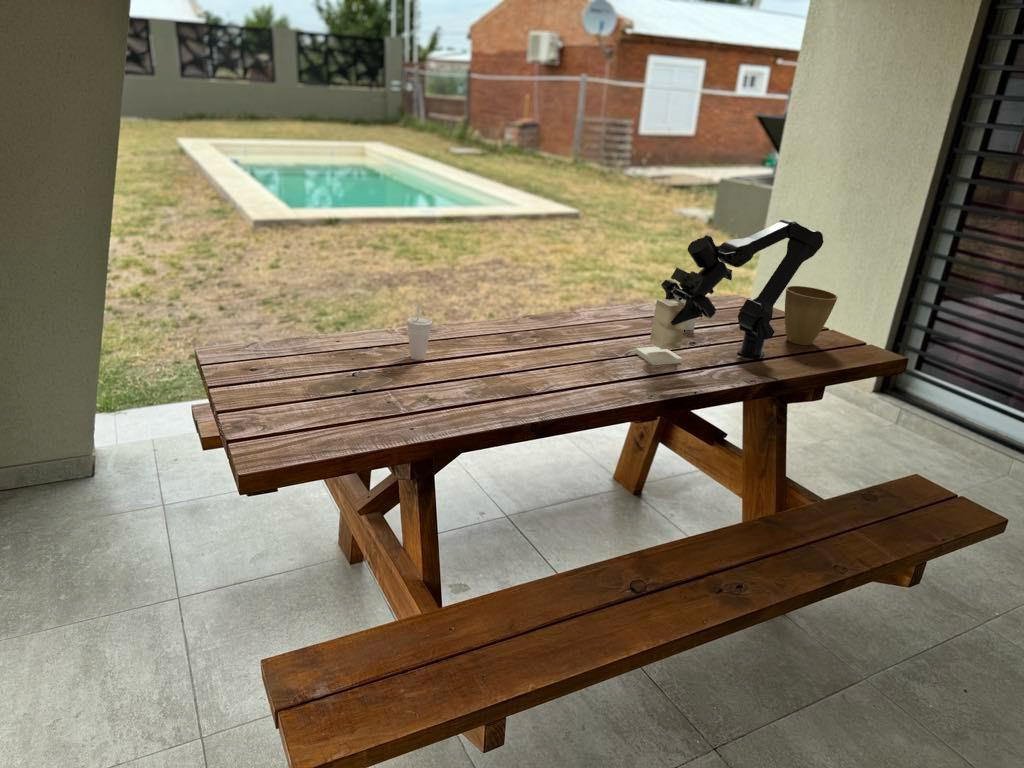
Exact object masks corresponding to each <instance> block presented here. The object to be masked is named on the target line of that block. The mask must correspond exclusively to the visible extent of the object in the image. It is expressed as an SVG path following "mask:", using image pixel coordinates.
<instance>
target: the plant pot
mask: <svg viewBox="0 0 1024 768" xmlns="http://www.w3.org/2000/svg"><path fill="white" fill-rule="evenodd" d="M784 297H785V299H784V325H785V326H784V327H785V328H784V329H785V336H786V340H787V341H789V343H793V344H796V345H800V346H810V345H812V344H813V343H814V341H815V340H816V339H817V337H818V336H819V334H820V332H821V331H822V330H823V328H824V326H825V325H826V323H827V321H828V320H829V317H830V315H831V313H832V311H833V309H834V307H835V305H836V303H837V299H838V295H836V294H835V293H833V292H831V291H827V290H823V289H820V288H816V287H811V286H801V285H789V286H786V288H785V296H784Z"/></svg>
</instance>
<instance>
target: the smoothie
mask: <svg viewBox="0 0 1024 768" xmlns="http://www.w3.org/2000/svg"><path fill="white" fill-rule="evenodd" d="M420 304H421V303H419V302H418V303H417V305H416V306H417V308H416V311H417V312H416V316H413V317H410V318H407V319H406V325H407V333H408V342H409V343H408V344H409V355H410V359H412V360H416V361H421V360H422V361H423V360H425V359H426V356H427V355H426V354H427V349H428V343H429V339H430V334H431V328H432V327H433V321H432V320H431V319H430V318H427V317H424V316H423V317H422V316H420Z"/></svg>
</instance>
